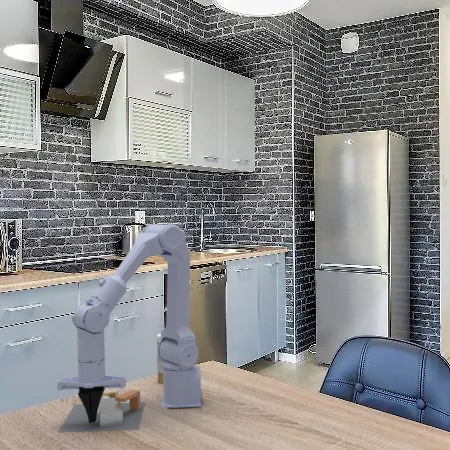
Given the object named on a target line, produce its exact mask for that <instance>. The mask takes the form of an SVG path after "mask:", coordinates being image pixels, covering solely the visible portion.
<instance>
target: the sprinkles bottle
mask: <svg viewBox="0 0 450 450" xmlns="http://www.w3.org/2000/svg"><path fill="white" fill-rule="evenodd" d="M160 339H161V332H160V333H158V334H157V335H156V342H157V347H158V344H159V342H160ZM156 361H157V362H156V365H157V367H156V368H157V384H158V385H163V365H162V360H161V359H160V358H159V356H158V354H157V353H156Z"/></svg>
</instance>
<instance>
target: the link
mask: <svg viewBox="0 0 450 450" xmlns="http://www.w3.org/2000/svg"><path fill="white" fill-rule="evenodd" d="M119 395H120V394H119V391H112V392H103V395H102V397H103V396H109V398H106V399H102V397H101V400H100V403H99V407H98V412H99V421H100V427H109V426H118V425H123V411H122V407H121V403H122V402H119V401H115V397H117V396H119Z"/></svg>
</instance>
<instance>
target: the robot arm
mask: <svg viewBox="0 0 450 450" xmlns="http://www.w3.org/2000/svg"><path fill="white" fill-rule="evenodd" d="M186 234H187V233H186V232H184V230H182V228H180V226H178V225H177V224H172V223H169V224H156V223H150V224H147V225H146V226H145V227H143V228H142V230H141V232H140V233H139V234H137V236H136V238H135V242H134V244H133V245H132V246H131V248H130V249H129V252H128V253H126V255H125V257H124V259H123V260H122V262H121V263H120V264H119V266H118V267H117V269H116V270H115V271H114V274H111V275H106V276H105V277H104V278H100V279H99V281H98V282H97V283H98V286H97V287H96V288H95V290H94V291H93V292H92V294H91V295H90V296H89V297H88V296H87V298H86V299H85V300H84V301H85V303H82V304H81V305H79V306H78V307H77V308H76V309H75V311H74V313H73V314H74V315H73V316H72V317H71V320H72V321H71V322H72V323H73V325H74V327H75V328H76V329H77V330H76V331H77V339H76V340H77V342H76V343H77V374H78V375H77V376H75V377H68V378H59V379H58V380H57V381H56V383H57V386H56V389H57V390H56V391H63V390H74V389H75V390H76V389H77V390H78V392H77V395H78V398H79V400H80V401H81V404H83V405H84V407H85V410H86V413H87V416H88V420H89V423H95V421H96V418H97V411H98V407H99V403H100V400H101V397H102V395H103V393H105V390H106V389H110V388H111V389H113V388H114V389H115V388H116V389H117V388H119V389H126V386H127V377H126V376H122V377H121V376H113V375H112V376H109V375H106V360H105V359H106V358H105V356H106V355H105V354H106V351H105V350H106V349H105V348H106V347H105V329H106V328H107V327H108V326H109V324H110V317H111V313H112V311H113V310H114V309H115V307H116V306H117V305H118V303H119V302H120V300H121V299H122V298H123V297H124V295H125V294H126V293H127V283H128V282H129V280H131V278H132V277H133V276H134V274H136V272H137V271H138V270H139V269H140V268H141V266H142V265H143V264H144V263H145V261H146V260H147V259H148V258H151V257H154V256H158V255H159V256H160V257H161V258H163V260H164V261H165V262H166V263H167V278H166V279H167V283H166V285H167V286H166V288H167V289H166V320H165V321H166V324H165V325H166V326H165V327H164V329H163V330H162V331H161V332H160V333H161V339H160V342H159V344H158V347H157V348H156V352H157V353H156V355H157V354H158V356H159V358H160V359H161V360H162V365H163V384H162V385H163V387H162V388H163V395H162V400H161V405H160V407H161V408H167V409H173V408H176V409H177V408H200V407H201V406H202V397H203V388H201V387H202V384H201V383H202V381H201V379H202V378H201V377H202V375H201V365H196V363H197V361H198V359H199V349H198V346H197V341H196V335H195V334H194V332H193V331H192V330H191V328H190V291H191V289H190V287H191V286H190V285H191V252H190V251H189V250H190V249H189V247H188V245H187V242H186V241H187V240H186V238H187V237H186Z"/></svg>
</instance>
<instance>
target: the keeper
mask: <svg viewBox="0 0 450 450" xmlns="http://www.w3.org/2000/svg"><path fill="white" fill-rule="evenodd" d="M115 401H119V402H121V403H127V402H128V401H129V402H128V403H130V409H134V410H139V409H140V402H141V390H137V389H130V390H127V391H125V392H123V393H121V394H119V396H117V397H115Z"/></svg>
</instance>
